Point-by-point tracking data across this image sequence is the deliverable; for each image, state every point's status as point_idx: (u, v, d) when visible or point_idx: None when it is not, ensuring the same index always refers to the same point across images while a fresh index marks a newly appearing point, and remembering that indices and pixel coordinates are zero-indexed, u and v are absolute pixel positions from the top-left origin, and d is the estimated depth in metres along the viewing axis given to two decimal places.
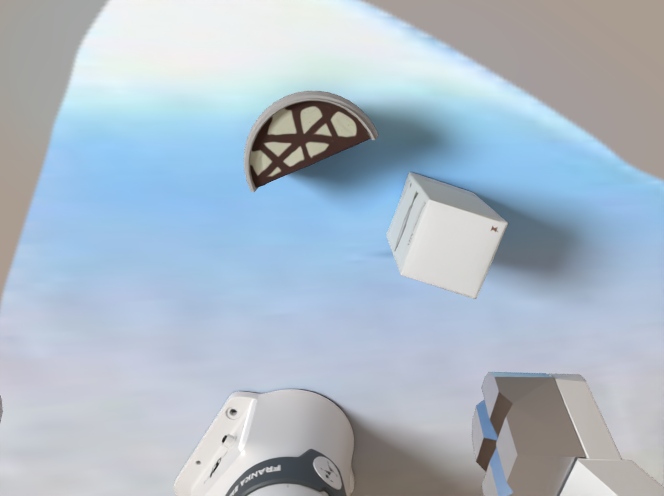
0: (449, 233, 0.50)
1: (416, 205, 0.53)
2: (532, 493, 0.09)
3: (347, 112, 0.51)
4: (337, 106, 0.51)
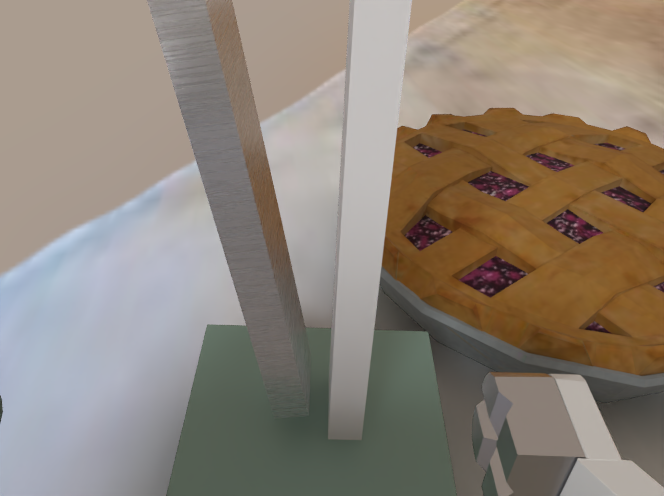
0: None
1: None
2: (532, 493, 0.09)
3: None
4: None
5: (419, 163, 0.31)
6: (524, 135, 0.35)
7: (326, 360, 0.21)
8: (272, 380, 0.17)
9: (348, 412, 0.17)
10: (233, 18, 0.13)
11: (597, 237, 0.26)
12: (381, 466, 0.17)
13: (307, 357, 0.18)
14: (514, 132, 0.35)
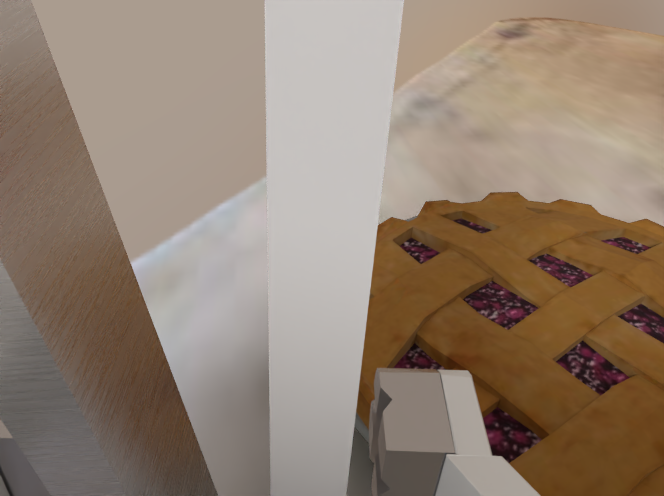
0: None
1: None
2: (409, 489, 0.09)
3: None
4: None
5: (409, 273, 0.27)
6: (530, 233, 0.30)
7: None
8: None
9: None
10: (119, 260, 0.08)
11: (619, 387, 0.22)
12: None
13: None
14: (518, 228, 0.31)
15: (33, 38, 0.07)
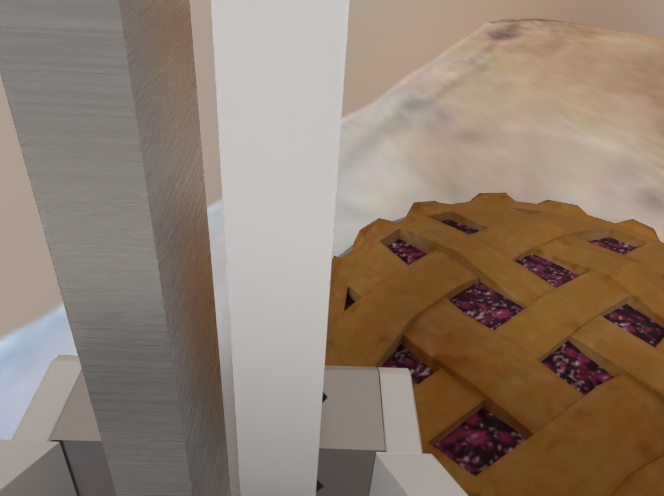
0: None
1: None
2: (342, 487, 0.09)
3: None
4: None
5: (396, 274, 0.27)
6: (517, 233, 0.30)
7: None
8: None
9: None
10: (207, 266, 0.08)
11: (603, 386, 0.22)
12: None
13: None
14: (506, 228, 0.31)
15: (187, 48, 0.07)
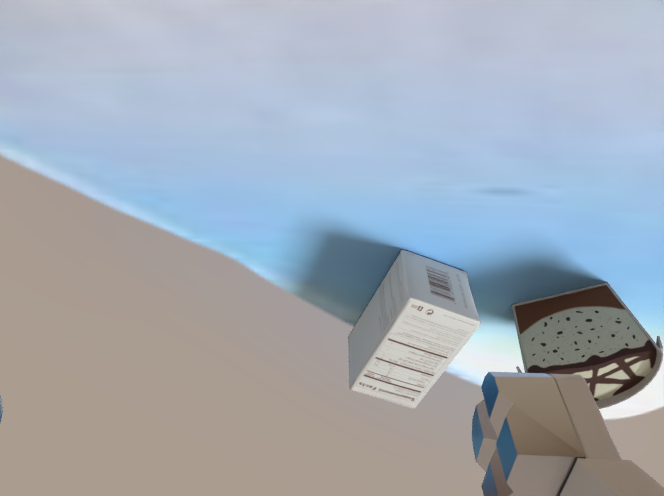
0: None
1: None
2: (532, 493, 0.09)
3: None
4: None
5: None
6: None
7: None
8: None
9: None
10: None
11: None
12: None
13: None
14: None
15: None
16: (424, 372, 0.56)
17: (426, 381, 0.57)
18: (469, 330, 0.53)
